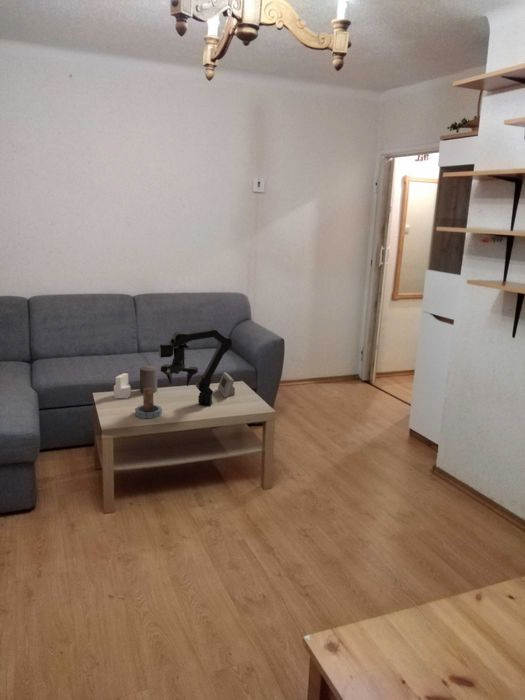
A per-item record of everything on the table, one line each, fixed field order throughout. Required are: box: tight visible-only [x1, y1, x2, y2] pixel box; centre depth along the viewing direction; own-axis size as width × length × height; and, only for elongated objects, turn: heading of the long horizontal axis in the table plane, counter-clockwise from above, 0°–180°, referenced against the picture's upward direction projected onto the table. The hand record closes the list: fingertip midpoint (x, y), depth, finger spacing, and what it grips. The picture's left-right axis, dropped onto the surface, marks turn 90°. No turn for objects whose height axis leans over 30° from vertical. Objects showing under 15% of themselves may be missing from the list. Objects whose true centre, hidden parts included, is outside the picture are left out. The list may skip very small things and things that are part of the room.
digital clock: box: [217, 371, 236, 398], centre depth 316 cm, size 16×9×11 cm, turn 8°
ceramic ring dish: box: [134, 404, 163, 420], centre depth 281 cm, size 13×13×3 cm
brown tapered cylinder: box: [142, 388, 154, 412], centre depth 279 cm, size 5×5×12 cm
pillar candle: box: [139, 365, 158, 394], centre depth 315 cm, size 10×10×15 cm
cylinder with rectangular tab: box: [113, 372, 132, 399], centre depth 305 cm, size 9×9×12 cm
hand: (179, 385), depth 290 cm, fingers open, 9 cm apart
